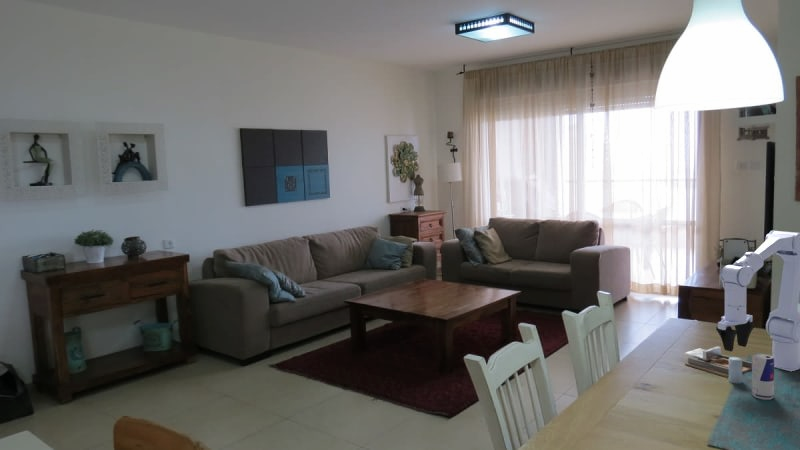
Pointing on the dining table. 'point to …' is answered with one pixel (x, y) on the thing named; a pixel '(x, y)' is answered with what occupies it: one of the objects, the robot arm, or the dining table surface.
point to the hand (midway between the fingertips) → (735, 348)
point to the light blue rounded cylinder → (735, 370)
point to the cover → (705, 353)
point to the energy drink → (763, 376)
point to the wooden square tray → (717, 365)
